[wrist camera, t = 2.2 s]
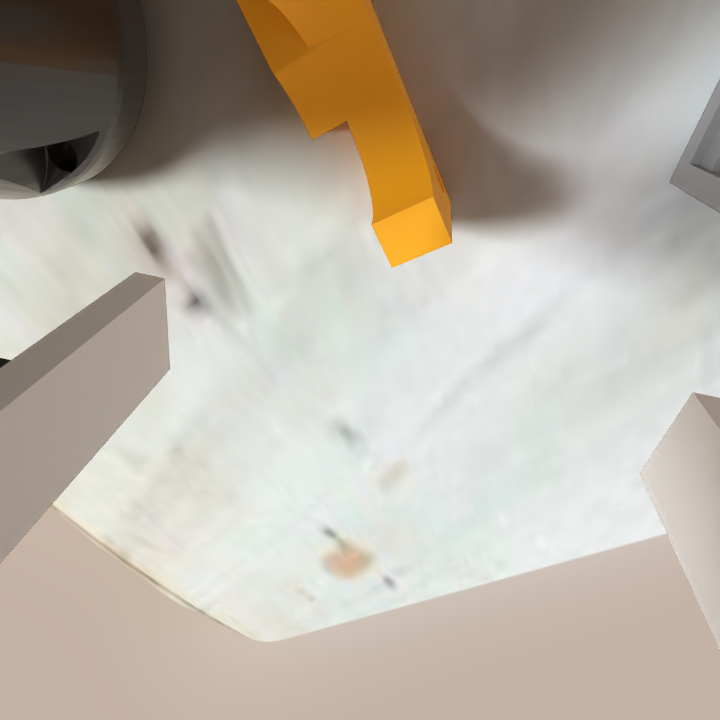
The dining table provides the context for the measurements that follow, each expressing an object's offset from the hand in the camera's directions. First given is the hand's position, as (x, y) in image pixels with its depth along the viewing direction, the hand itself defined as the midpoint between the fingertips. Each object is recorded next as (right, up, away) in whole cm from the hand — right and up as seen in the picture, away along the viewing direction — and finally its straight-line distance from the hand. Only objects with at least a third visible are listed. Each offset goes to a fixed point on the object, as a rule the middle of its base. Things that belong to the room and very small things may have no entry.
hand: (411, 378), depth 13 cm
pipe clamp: (-1, +13, +11) cm, 17 cm away
